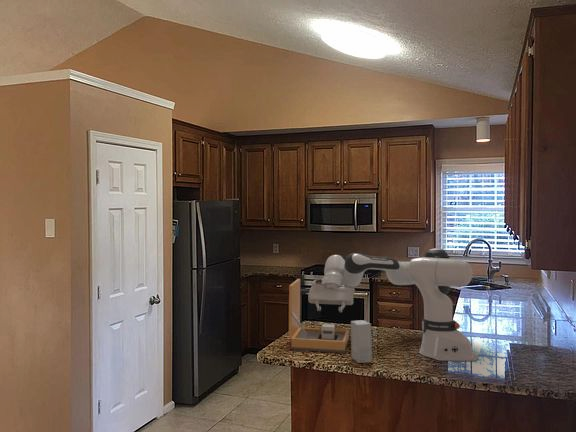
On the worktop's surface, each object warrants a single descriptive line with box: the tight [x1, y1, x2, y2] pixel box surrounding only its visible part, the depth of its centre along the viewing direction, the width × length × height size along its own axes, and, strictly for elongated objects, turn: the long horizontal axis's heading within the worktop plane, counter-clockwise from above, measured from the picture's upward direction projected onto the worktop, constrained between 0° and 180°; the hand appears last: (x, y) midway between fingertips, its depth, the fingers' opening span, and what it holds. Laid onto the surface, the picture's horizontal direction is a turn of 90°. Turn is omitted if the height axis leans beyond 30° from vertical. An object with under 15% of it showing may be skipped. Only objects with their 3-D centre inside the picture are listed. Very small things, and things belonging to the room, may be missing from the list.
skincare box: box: [350, 319, 373, 364], centre depth 201 cm, size 8×6×15 cm
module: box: [321, 323, 336, 340], centre depth 221 cm, size 5×5×8 cm
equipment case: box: [288, 278, 350, 354], centre depth 222 cm, size 23×20×26 cm
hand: (329, 311), depth 227 cm, fingers open, 8 cm apart
